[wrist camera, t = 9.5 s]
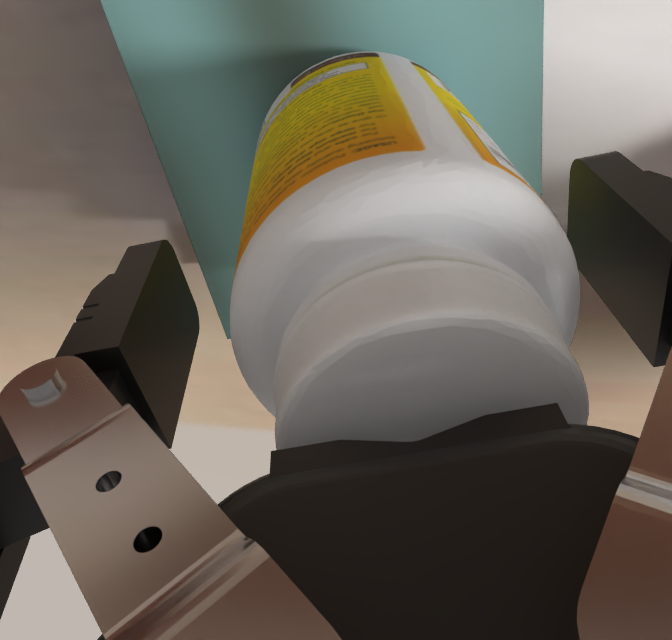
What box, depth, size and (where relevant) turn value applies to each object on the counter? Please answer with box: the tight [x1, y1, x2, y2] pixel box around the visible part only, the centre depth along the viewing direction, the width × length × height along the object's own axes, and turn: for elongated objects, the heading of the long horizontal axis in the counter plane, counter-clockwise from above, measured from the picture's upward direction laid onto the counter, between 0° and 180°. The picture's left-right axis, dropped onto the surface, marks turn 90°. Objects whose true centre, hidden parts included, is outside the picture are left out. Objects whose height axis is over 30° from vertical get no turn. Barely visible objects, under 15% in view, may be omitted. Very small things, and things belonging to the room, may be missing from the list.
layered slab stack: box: [100, 0, 544, 339], centre depth 20 cm, size 16×16×11 cm
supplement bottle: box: [230, 51, 589, 450], centre depth 12 cm, size 6×6×10 cm
